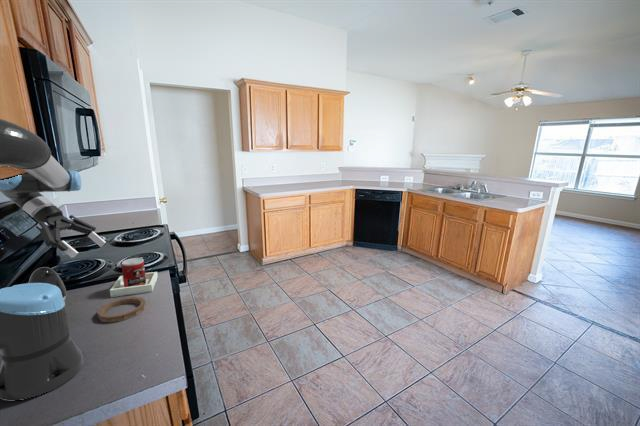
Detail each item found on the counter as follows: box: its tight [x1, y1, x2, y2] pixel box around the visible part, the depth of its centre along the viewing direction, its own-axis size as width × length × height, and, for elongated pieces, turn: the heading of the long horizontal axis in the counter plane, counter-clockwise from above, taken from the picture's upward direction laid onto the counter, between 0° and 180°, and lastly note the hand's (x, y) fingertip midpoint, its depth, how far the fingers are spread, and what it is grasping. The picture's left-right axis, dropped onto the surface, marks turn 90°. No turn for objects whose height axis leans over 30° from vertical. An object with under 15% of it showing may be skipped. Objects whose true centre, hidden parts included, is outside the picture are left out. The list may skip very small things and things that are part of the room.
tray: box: [109, 271, 159, 298], centre depth 115 cm, size 14×14×3 cm
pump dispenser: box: [27, 266, 67, 301], centre depth 98 cm, size 10×10×15 cm
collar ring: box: [96, 296, 147, 323], centre depth 97 cm, size 13×13×2 cm
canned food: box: [121, 257, 146, 287], centre depth 114 cm, size 8×8×11 cm
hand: (90, 249), depth 106 cm, fingers open, 13 cm apart
